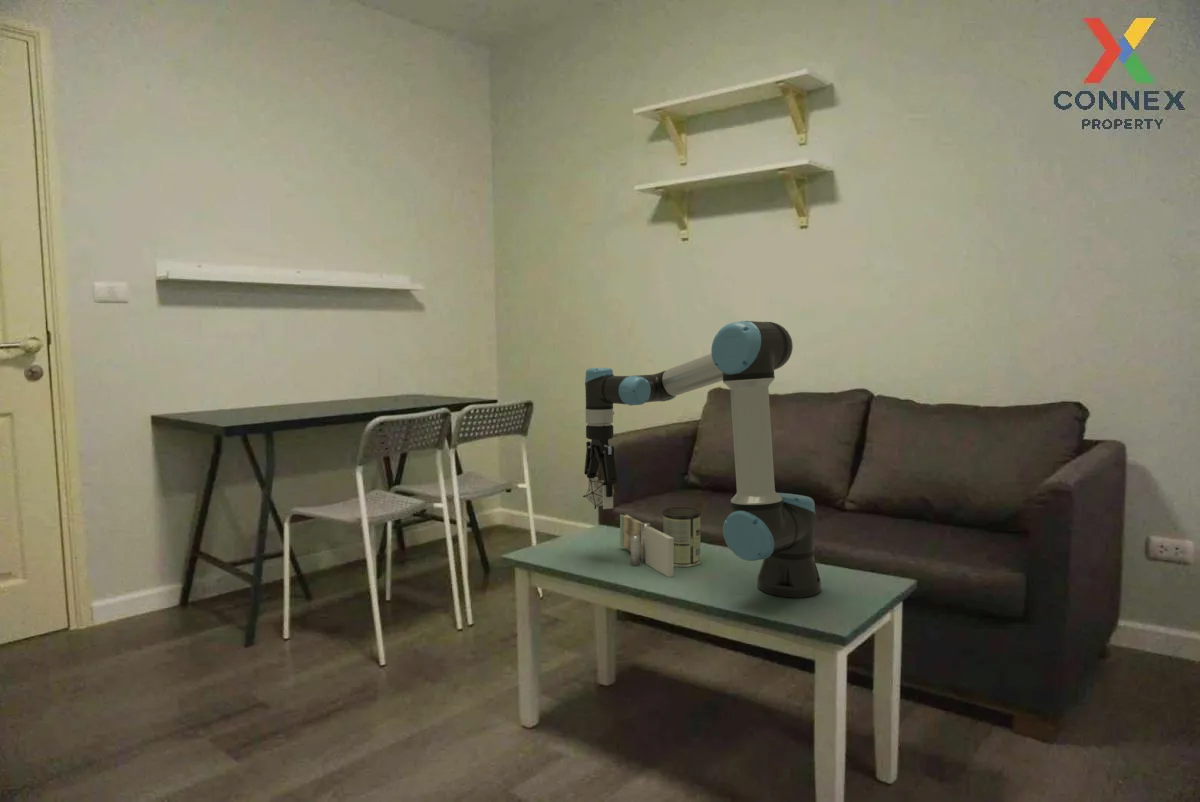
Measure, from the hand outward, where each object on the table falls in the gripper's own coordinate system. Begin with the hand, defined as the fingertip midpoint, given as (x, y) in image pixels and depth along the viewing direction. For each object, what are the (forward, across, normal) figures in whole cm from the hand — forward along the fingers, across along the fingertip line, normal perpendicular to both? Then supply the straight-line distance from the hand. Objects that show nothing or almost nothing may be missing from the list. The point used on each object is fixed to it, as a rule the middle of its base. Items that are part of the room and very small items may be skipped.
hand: (600, 504), depth 213 cm
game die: (+1, 0, 0) cm, 1 cm away
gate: (+14, 0, -10) cm, 17 cm away
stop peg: (+15, -9, -6) cm, 19 cm away
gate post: (+15, -8, -10) cm, 20 cm away
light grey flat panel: (+15, -16, -10) cm, 24 cm away
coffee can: (+15, -12, -19) cm, 27 cm away
